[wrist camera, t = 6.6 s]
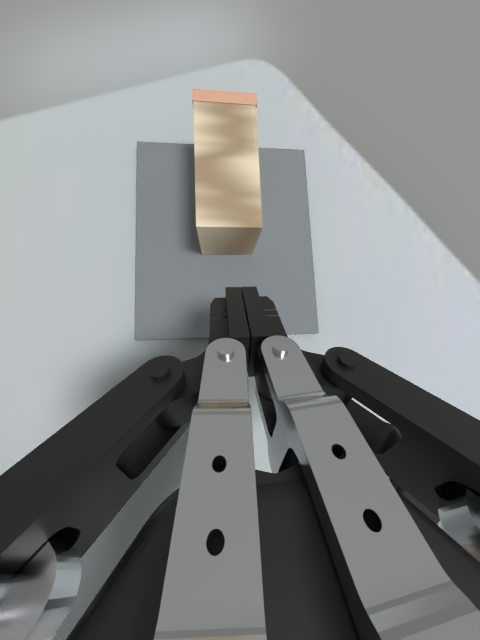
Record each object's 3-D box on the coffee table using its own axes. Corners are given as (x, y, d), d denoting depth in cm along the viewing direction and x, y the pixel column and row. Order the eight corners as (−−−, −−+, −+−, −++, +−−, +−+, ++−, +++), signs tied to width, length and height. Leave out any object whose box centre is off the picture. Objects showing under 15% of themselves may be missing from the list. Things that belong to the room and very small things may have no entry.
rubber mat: (137, 340, 15) (134, 340, 15) (139, 147, 17) (137, 141, 17) (315, 333, 17) (318, 333, 16) (301, 155, 18) (304, 149, 18)
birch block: (195, 226, 12) (192, 89, 13) (201, 254, 16) (199, 149, 17) (263, 227, 12) (256, 93, 13) (253, 254, 17) (248, 151, 17)
